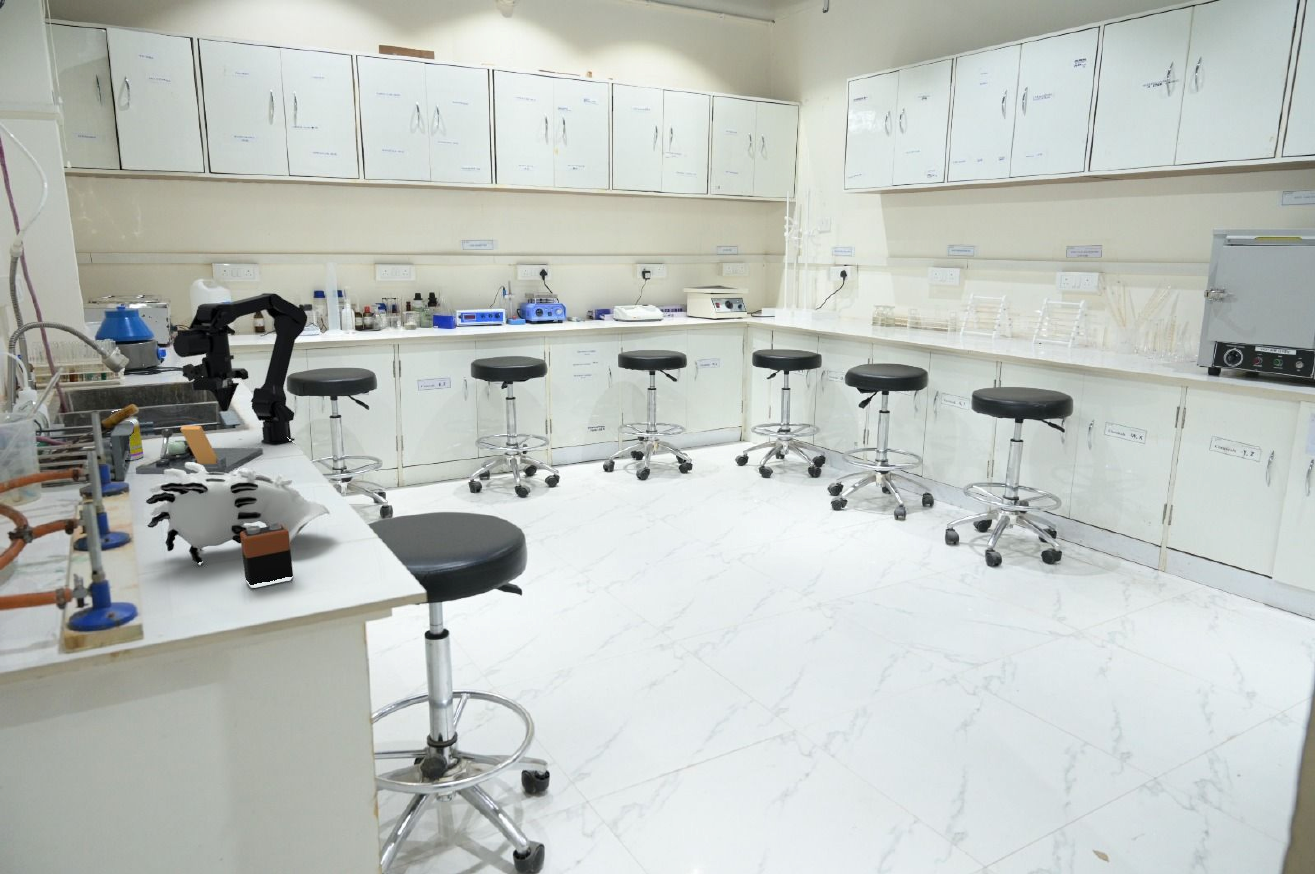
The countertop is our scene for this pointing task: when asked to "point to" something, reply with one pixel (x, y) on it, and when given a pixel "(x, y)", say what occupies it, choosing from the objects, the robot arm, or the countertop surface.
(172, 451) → the button
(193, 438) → the paddle
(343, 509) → the countertop surface
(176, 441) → the labelled grey box
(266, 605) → the countertop surface
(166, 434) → the toggle
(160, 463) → the panel
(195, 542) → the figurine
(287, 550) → the battery
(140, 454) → the yellow bottle
